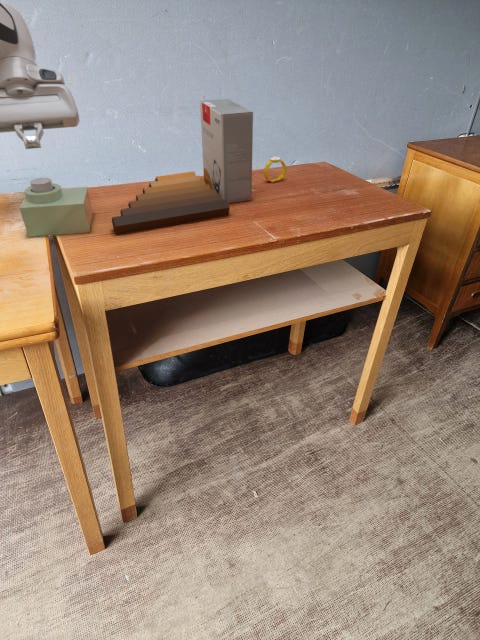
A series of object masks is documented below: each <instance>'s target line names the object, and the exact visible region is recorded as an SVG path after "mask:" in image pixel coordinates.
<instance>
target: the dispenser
mask: <svg viewBox="0 0 480 640" xmlns="http://www.w3.org/2000/svg"><path fill="white" fill-rule="evenodd" d="M52 185H53V190H51V191H49V192H44V193H34V192H33V191H32V187H31V185H30V186H28V187H26V188H25V189H24V191H23V193H24V196H25V197H24V199H23V201H22V203H21V205H20V206H19V211H20V214H21V217H22V221H23V224H24V228H25V231H26V234H27V237H28V238H34V237H35V238H36V237H47V236H48V237H49V236H61V235H62V236H63V235H73V234H74V235H75V234H85V233H90V231H91V228H92V227H91V226H92V221H93V216H94V212H93V207H92V203H91V197H90V192H89V188H88V186H80V187H79V186H78V187H62V186H61V185H60V184H58V183H53V182H52Z"/></svg>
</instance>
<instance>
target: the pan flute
mask: <svg viewBox="0 0 480 640" xmlns="http://www.w3.org/2000/svg"><path fill="white" fill-rule="evenodd" d="M127 205H128V207H126V208H121V209H120V215H118V216H112V217H111V222H112V227H113V231H114V233H115V236H117V235H123V234H130V233H135V232H142V231H147V230H152V229H157V228H158V229H159V228H165V227H169V226H176V225H180V224H188V223H193V222H198V221H205V220H210V219H216V218H221V217H228V216H229V215H230V208H231V207H230V203H228V202H227V199H224V200H223V199H222V197H221V194H216V191H215V189H211V188H210V185H209V184H207V185H206V184H205V181H204V179H201V177H200V175H196V172H195V171H186V172H180V173H179V172H178V173H172V174H165V175H164V174H163V175H157V176H155V178H154V181H150V182H149V184H148V187H143V189H142V193H138V194H136V196H135V200H130V201H128V204H127Z"/></svg>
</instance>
